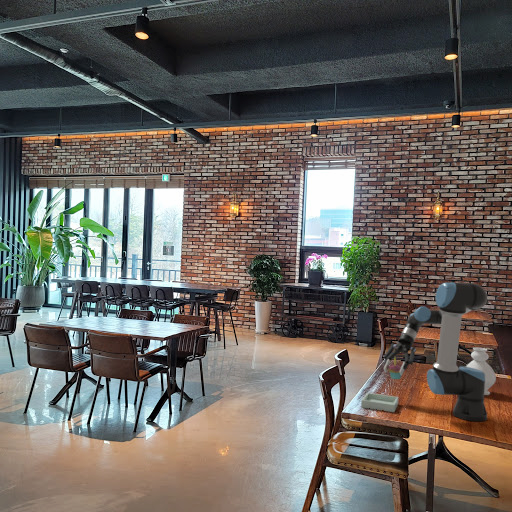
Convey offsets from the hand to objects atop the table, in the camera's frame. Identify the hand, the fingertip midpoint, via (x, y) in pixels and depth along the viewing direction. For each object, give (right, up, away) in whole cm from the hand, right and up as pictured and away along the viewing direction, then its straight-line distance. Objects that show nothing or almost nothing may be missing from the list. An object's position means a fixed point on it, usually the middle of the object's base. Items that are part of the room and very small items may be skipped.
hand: (392, 372), depth 267 cm
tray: (-9, -15, -9) cm, 19 cm away
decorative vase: (+56, -18, +27) cm, 65 cm away
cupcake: (+2, -4, +3) cm, 5 cm away
